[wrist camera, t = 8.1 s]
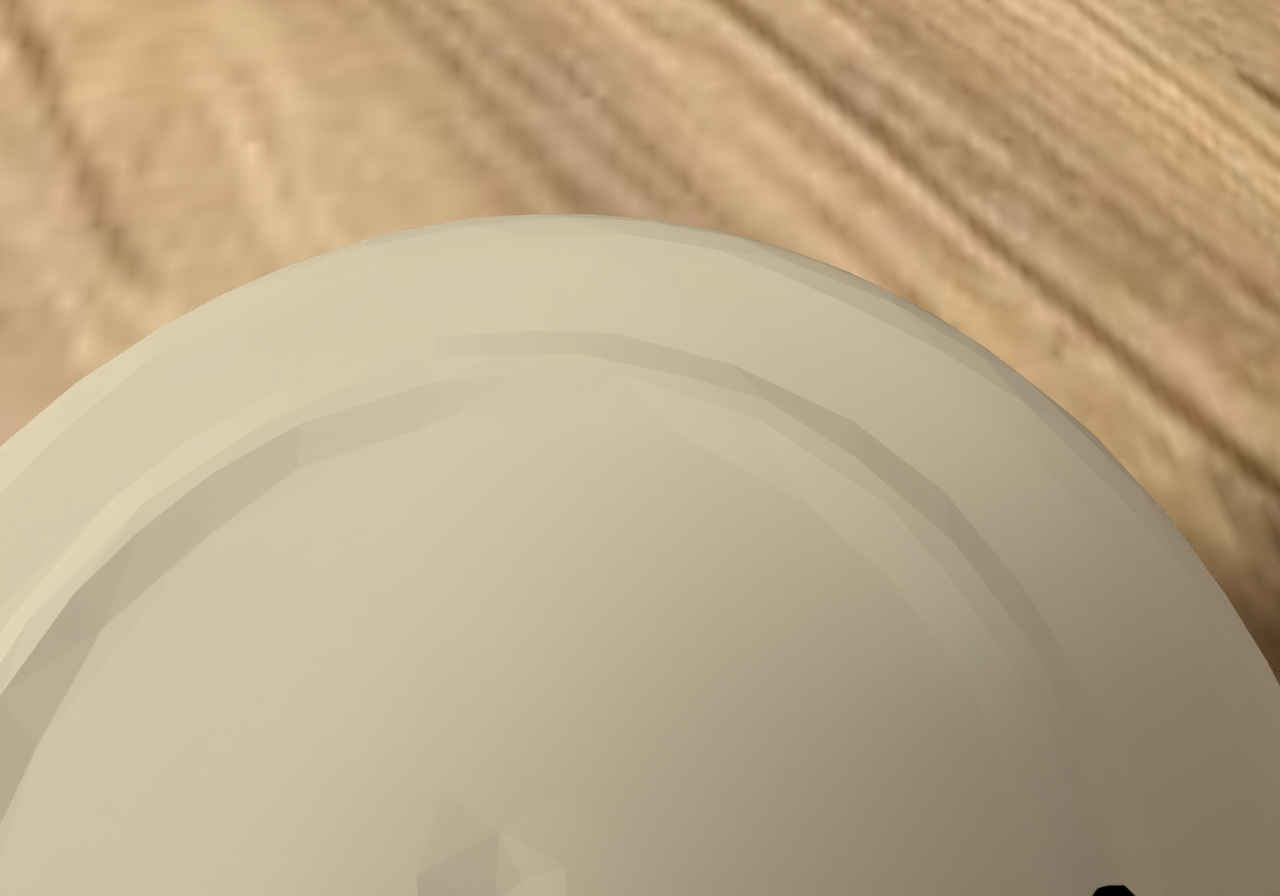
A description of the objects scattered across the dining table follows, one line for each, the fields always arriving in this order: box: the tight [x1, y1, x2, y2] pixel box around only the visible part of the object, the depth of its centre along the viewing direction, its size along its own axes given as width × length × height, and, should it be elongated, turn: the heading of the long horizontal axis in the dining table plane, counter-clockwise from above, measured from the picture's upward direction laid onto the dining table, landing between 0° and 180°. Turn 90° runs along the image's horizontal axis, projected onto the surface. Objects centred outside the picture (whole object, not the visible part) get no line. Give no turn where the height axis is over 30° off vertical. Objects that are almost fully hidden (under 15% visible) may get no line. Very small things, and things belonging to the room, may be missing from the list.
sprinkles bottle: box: [0, 214, 1280, 896], centre depth 8 cm, size 5×5×13 cm
